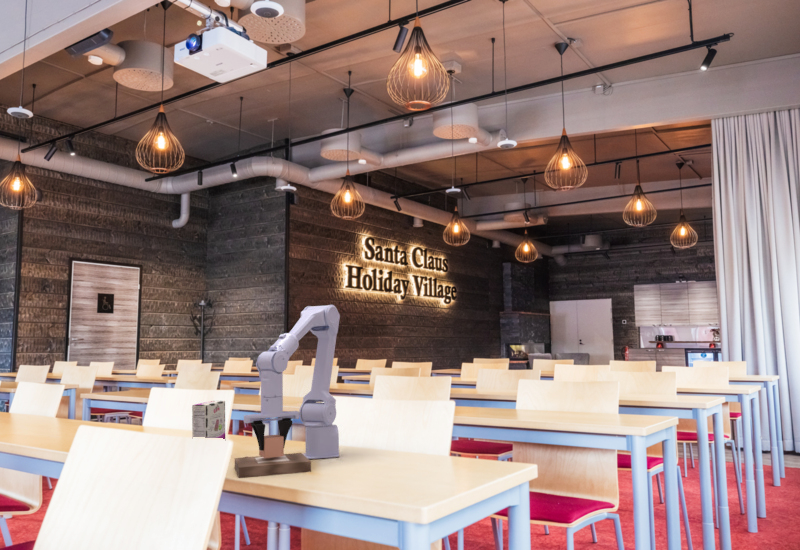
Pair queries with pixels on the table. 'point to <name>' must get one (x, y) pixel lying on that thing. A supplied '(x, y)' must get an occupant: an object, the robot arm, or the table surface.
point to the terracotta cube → (272, 446)
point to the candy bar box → (209, 419)
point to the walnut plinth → (272, 465)
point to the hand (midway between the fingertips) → (271, 448)
